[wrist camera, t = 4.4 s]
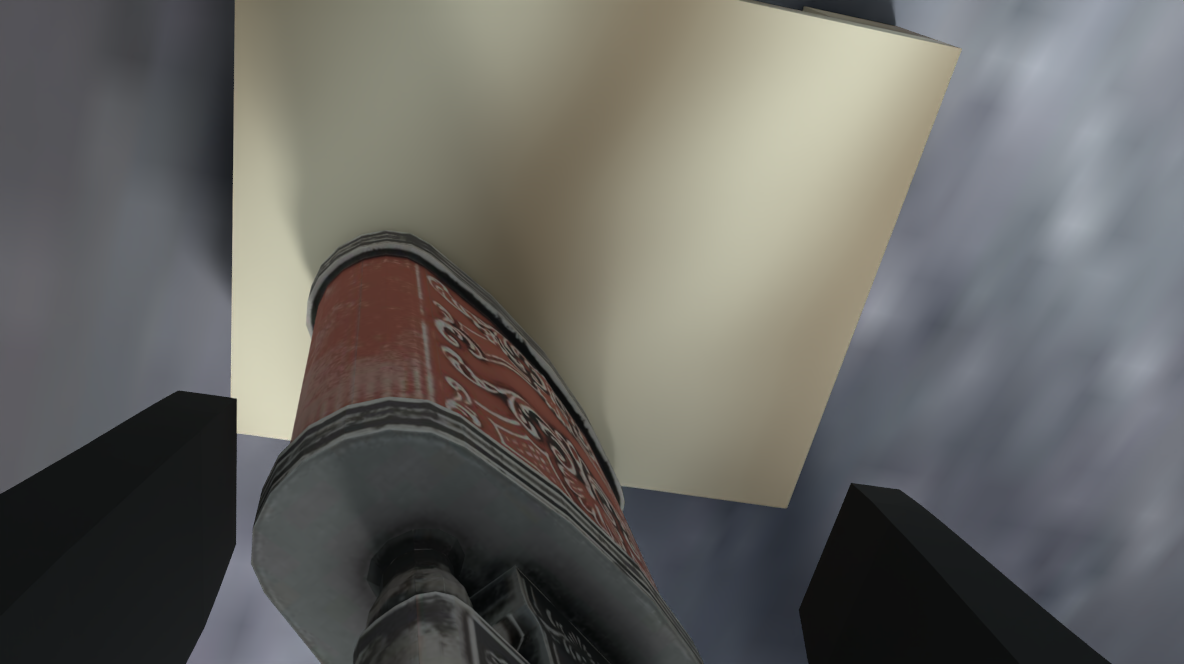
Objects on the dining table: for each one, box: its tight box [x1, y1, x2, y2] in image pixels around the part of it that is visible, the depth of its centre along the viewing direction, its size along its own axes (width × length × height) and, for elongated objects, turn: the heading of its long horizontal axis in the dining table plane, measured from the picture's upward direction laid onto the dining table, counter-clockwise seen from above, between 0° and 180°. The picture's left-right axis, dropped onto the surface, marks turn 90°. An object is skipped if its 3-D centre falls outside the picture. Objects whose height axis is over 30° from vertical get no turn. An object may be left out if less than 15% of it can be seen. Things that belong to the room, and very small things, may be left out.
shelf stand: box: [231, 0, 962, 509], centre depth 17 cm, size 12×10×3 cm
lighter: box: [251, 230, 704, 664], centre depth 12 cm, size 8×3×10 cm, turn 33°
